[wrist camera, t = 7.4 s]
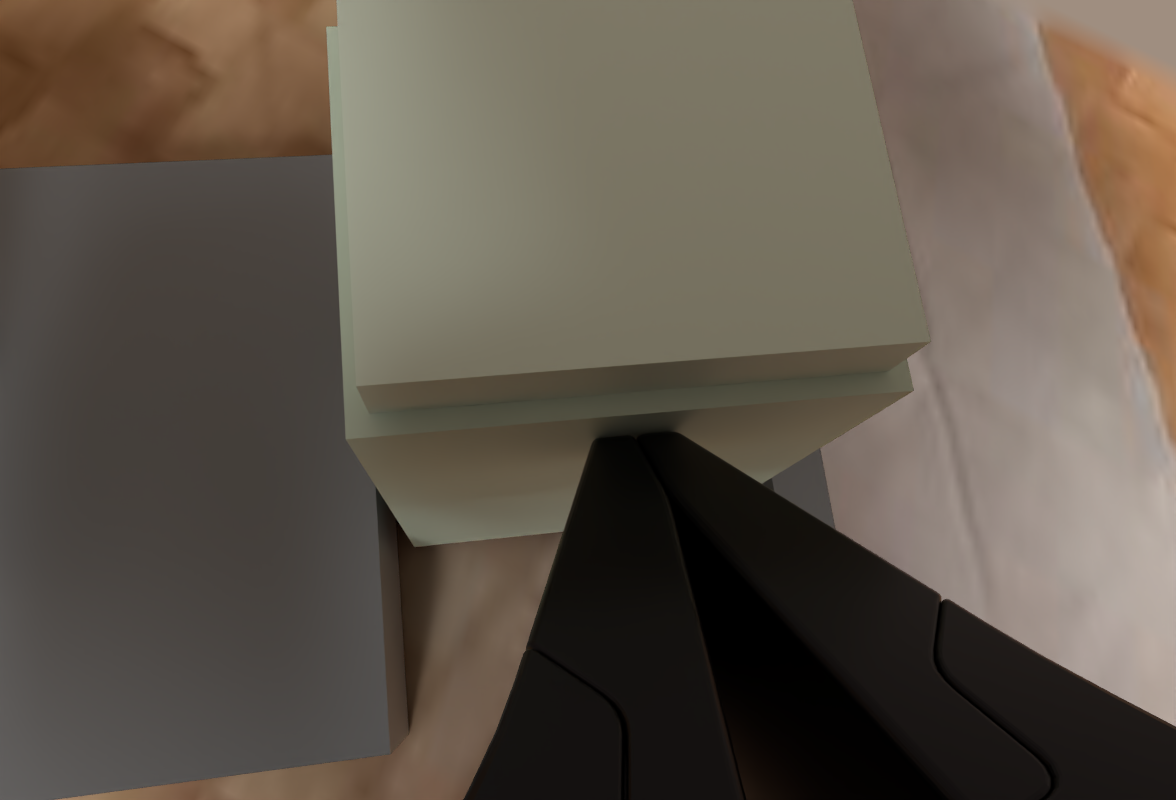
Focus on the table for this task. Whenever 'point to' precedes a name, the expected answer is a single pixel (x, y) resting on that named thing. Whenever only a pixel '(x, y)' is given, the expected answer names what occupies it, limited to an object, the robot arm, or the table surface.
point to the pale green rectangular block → (605, 243)
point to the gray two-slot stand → (190, 484)
